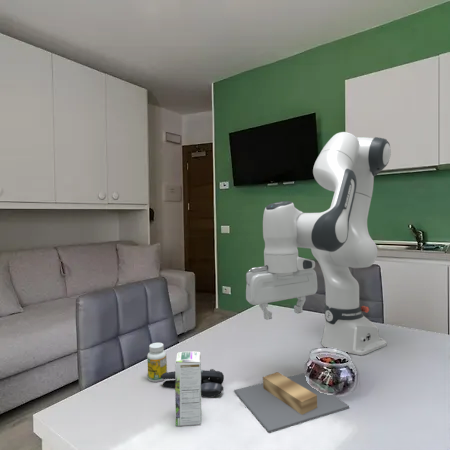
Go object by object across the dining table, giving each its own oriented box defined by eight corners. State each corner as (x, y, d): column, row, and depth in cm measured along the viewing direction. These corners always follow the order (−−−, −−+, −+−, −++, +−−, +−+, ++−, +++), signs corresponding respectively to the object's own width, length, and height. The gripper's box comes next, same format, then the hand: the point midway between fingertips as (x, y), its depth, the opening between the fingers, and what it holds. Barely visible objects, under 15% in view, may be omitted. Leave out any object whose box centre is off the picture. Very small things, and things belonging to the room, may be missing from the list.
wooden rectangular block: (317, 407, 79) (317, 395, 79) (301, 414, 76) (301, 401, 76) (277, 382, 91) (277, 371, 91) (263, 388, 88) (263, 377, 88)
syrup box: (177, 411, 79) (175, 351, 79) (201, 410, 80) (200, 350, 79) (175, 427, 73) (173, 362, 73) (202, 425, 74) (200, 360, 73)
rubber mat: (303, 374, 96) (303, 373, 96) (349, 408, 79) (349, 406, 79) (234, 391, 87) (234, 389, 87) (268, 433, 71) (268, 430, 71)
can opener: (227, 386, 91) (227, 366, 90) (220, 400, 84) (220, 378, 84) (167, 379, 95) (167, 360, 95) (156, 392, 88) (155, 371, 88)
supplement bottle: (170, 376, 96) (170, 343, 96) (157, 384, 92) (156, 350, 92) (157, 371, 99) (156, 340, 99) (143, 379, 95) (142, 346, 95)
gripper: (251, 270, 80) (254, 326, 81) (320, 261, 88) (322, 312, 89) (240, 266, 86) (242, 319, 87) (305, 258, 94) (307, 306, 95)
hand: (283, 315), depth 88 cm, fingers open, 8 cm apart
